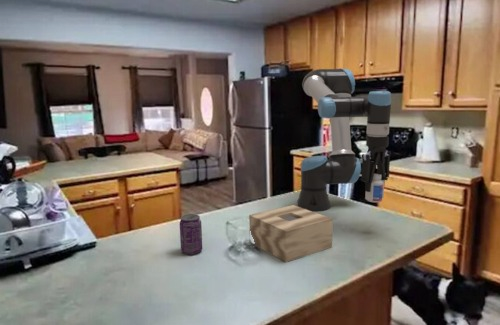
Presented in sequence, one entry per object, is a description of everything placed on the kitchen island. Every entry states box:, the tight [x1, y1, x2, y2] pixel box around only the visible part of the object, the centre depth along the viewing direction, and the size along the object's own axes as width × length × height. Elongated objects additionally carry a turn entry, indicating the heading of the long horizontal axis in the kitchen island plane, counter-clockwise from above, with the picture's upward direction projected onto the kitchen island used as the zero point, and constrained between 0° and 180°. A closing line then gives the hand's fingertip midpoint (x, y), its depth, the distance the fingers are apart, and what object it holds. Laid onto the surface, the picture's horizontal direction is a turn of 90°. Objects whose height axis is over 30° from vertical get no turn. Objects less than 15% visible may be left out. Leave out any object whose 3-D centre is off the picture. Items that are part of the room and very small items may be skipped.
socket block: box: [248, 204, 334, 263], centre depth 124 cm, size 20×20×10 cm
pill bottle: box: [366, 173, 383, 203], centre depth 131 cm, size 6×5×10 cm
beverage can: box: [179, 213, 203, 256], centre depth 119 cm, size 7×7×12 cm
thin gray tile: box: [282, 216, 298, 221], centre depth 123 cm, size 6×6×1 cm
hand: (374, 198), depth 132 cm, fingers closed on pill bottle, 5 cm apart
